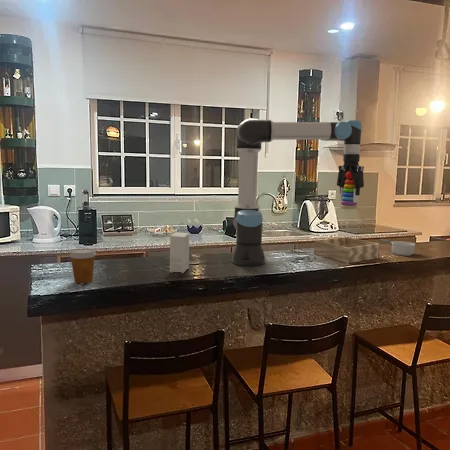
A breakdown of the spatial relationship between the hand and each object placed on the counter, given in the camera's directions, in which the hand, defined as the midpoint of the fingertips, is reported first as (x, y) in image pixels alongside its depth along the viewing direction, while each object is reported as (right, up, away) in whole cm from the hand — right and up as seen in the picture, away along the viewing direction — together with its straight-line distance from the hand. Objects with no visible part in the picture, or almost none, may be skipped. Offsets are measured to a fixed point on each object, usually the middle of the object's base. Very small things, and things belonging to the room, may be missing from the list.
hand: (349, 201), depth 211 cm
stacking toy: (0, -4, 0) cm, 4 cm away
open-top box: (0, -27, +4) cm, 27 cm away
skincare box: (-79, -31, -28) cm, 89 cm away
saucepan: (+28, -26, +15) cm, 41 cm away
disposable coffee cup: (-114, -33, -47) cm, 127 cm away
